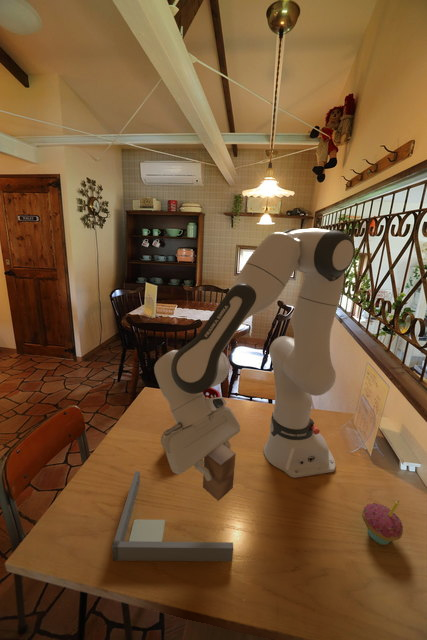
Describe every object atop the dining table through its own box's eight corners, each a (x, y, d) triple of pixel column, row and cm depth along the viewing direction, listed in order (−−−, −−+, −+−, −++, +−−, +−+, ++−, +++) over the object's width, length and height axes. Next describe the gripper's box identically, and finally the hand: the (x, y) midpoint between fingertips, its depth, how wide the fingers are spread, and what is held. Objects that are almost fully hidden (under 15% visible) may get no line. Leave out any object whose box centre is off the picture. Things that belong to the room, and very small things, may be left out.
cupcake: (393, 525, 72) (404, 488, 68) (403, 559, 64) (416, 520, 60) (356, 513, 74) (365, 477, 71) (361, 545, 66) (372, 506, 63)
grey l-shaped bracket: (226, 484, 81) (227, 473, 80) (232, 561, 62) (233, 548, 61) (135, 482, 80) (135, 471, 79) (113, 560, 61) (112, 547, 60)
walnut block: (217, 475, 69) (219, 441, 67) (232, 487, 66) (235, 453, 63) (202, 487, 66) (204, 452, 63) (218, 501, 63) (220, 465, 60)
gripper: (163, 430, 58) (194, 497, 55) (228, 395, 73) (255, 446, 69) (151, 438, 63) (179, 500, 59) (215, 402, 77) (240, 451, 73)
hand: (221, 470), depth 64 cm, fingers closed on walnut block, 5 cm apart
